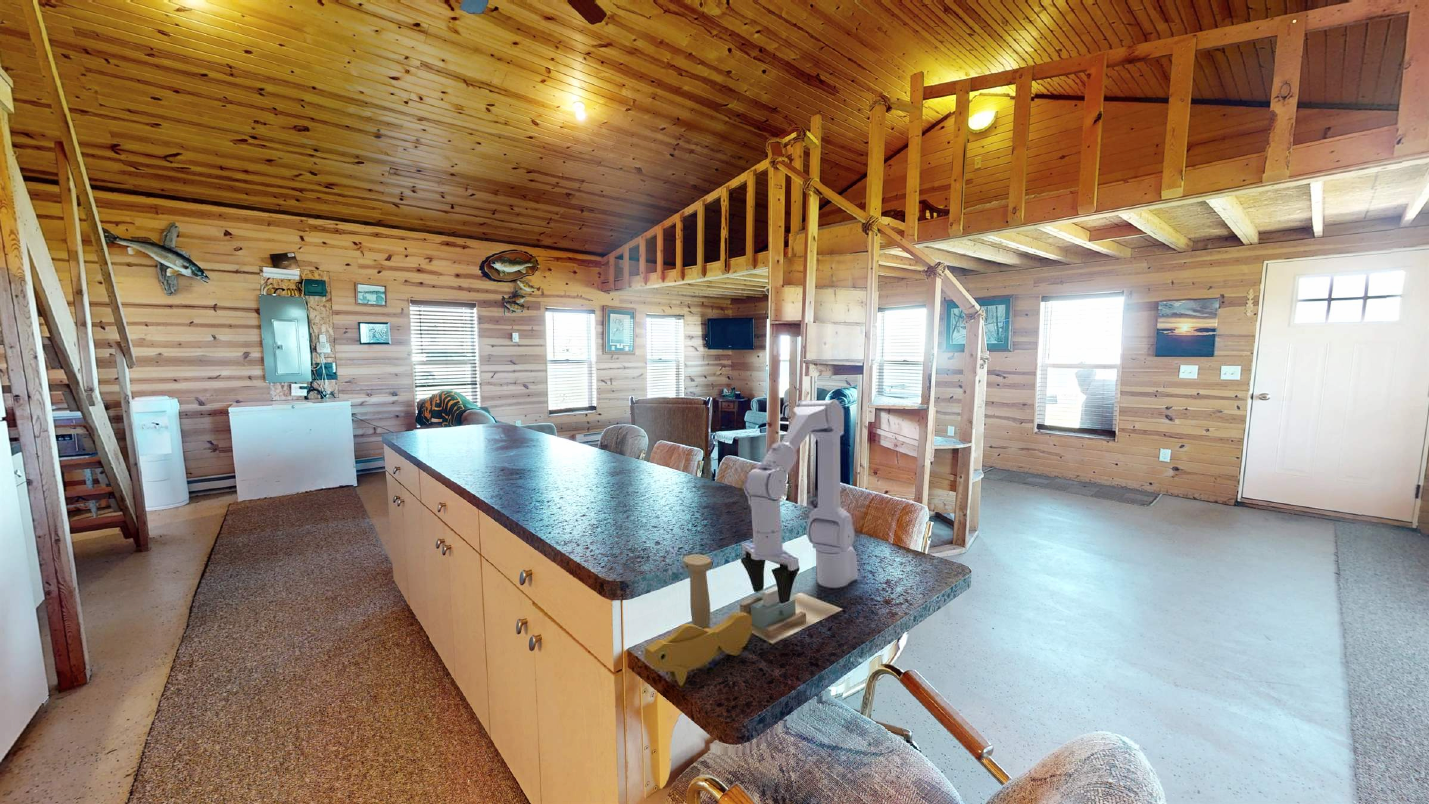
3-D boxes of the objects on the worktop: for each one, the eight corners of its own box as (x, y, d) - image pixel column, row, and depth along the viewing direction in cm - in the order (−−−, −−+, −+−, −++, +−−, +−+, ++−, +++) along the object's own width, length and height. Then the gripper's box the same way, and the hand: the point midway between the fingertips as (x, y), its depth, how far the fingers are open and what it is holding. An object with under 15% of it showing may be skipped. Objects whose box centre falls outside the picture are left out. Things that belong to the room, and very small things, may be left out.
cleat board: (800, 596, 117) (799, 575, 117) (843, 613, 108) (841, 590, 108) (731, 626, 105) (730, 602, 105) (772, 648, 96) (771, 622, 96)
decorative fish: (648, 694, 82) (656, 628, 83) (638, 685, 84) (646, 622, 85) (751, 671, 96) (757, 615, 97) (740, 664, 98) (746, 610, 99)
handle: (700, 643, 99) (695, 566, 99) (683, 631, 105) (678, 558, 104) (721, 635, 102) (716, 560, 101) (703, 624, 107) (698, 552, 107)
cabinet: (780, 611, 108) (778, 581, 108) (799, 620, 104) (797, 588, 104) (751, 624, 104) (749, 592, 103) (769, 633, 99) (767, 600, 99)
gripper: (728, 526, 107) (733, 591, 107) (777, 541, 95) (782, 614, 96) (754, 519, 111) (758, 581, 112) (804, 532, 100) (808, 602, 100)
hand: (771, 596), depth 104 cm, fingers open, 7 cm apart
